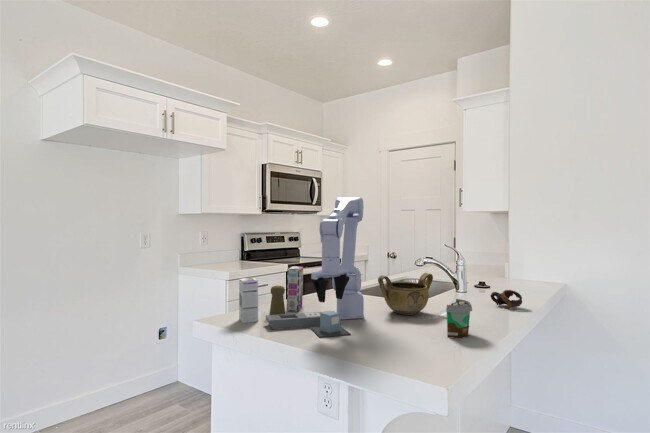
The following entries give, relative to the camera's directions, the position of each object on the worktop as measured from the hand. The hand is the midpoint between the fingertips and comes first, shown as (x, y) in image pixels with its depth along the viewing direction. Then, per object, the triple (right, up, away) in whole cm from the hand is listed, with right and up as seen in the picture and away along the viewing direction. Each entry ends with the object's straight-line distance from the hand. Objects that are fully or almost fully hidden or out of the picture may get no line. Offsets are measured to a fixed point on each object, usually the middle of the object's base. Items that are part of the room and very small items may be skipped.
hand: (330, 300), depth 123 cm
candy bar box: (-14, -11, +32) cm, 37 cm away
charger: (0, -10, 0) cm, 10 cm away
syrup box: (-28, -10, +13) cm, 33 cm away
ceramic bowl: (+29, -11, +26) cm, 41 cm away
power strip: (-9, -10, +8) cm, 16 cm away
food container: (+41, -11, -2) cm, 42 cm away
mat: (0, -10, 0) cm, 10 cm away
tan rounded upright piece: (-19, -10, +20) cm, 30 cm away
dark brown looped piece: (+73, -12, +38) cm, 83 cm away
